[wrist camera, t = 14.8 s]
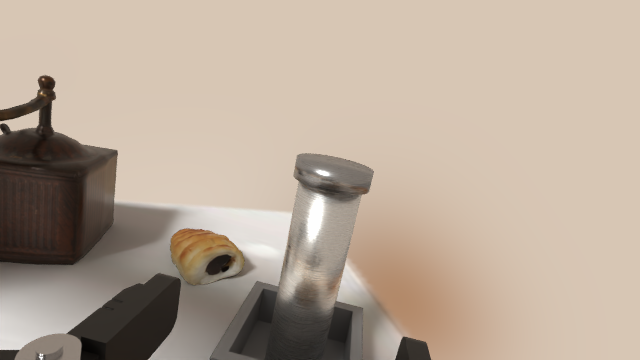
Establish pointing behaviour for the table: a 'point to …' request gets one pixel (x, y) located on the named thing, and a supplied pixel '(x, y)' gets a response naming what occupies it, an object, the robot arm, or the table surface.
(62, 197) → the manual coffee grinder
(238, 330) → the tray
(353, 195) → the pin
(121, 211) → the table surface
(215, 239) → the pastry
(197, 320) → the table surface
